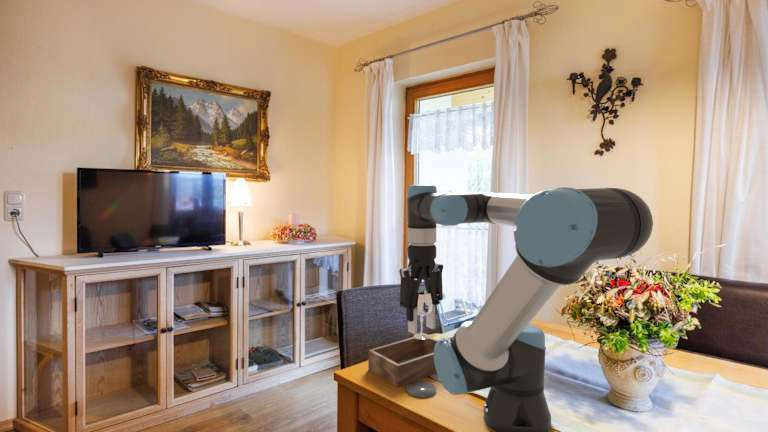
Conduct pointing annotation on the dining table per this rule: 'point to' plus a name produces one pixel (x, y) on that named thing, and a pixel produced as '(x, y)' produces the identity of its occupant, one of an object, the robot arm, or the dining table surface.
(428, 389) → the coaster
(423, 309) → the wineglass
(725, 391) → the dining table surface
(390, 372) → the rectangular wooden frame
